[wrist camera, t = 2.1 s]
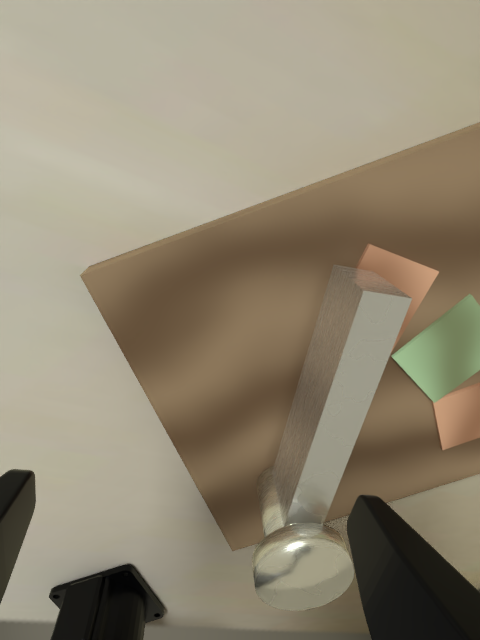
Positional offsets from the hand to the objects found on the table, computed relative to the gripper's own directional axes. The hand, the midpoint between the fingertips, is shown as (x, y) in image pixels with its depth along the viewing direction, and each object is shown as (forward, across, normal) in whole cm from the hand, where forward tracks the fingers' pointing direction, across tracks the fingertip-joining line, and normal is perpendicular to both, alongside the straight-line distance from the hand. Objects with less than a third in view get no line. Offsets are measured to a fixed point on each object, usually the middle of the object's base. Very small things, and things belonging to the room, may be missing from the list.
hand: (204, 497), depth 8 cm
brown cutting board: (+13, -9, +4) cm, 16 cm away
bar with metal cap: (+11, -7, +5) cm, 14 cm away
